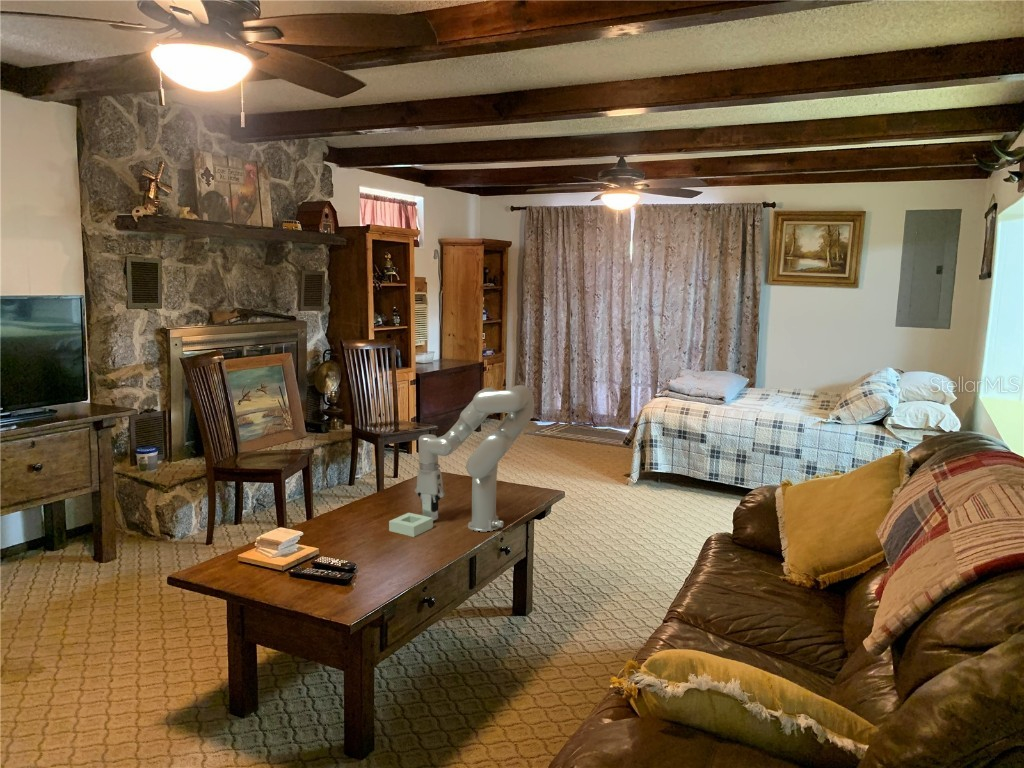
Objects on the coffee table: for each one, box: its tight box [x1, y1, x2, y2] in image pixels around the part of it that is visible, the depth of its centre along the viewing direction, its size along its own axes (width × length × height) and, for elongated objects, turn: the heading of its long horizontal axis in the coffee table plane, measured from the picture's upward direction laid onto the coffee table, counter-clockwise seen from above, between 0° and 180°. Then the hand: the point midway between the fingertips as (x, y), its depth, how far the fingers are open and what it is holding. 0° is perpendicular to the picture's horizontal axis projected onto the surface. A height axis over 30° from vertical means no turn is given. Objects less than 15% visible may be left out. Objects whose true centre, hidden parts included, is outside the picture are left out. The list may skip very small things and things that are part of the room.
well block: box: [388, 512, 434, 538], centre depth 279 cm, size 12×12×4 cm
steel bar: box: [421, 493, 439, 522], centre depth 288 cm, size 4×4×11 cm
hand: (430, 509), depth 288 cm, fingers closed on steel bar, 4 cm apart
